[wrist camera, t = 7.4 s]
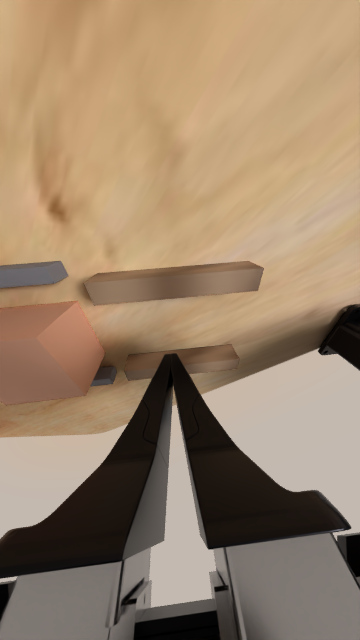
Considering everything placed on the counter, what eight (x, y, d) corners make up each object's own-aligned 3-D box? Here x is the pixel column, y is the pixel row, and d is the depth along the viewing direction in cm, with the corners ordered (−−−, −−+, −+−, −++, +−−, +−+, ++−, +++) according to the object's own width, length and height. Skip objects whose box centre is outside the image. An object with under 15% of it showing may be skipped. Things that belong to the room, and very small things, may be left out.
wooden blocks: (248, 261, 10) (264, 268, 9) (229, 353, 16) (236, 368, 14) (97, 273, 10) (83, 283, 8) (132, 364, 16) (128, 380, 14)
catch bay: (60, 261, 9) (44, 266, 8) (116, 371, 16) (112, 383, 15) (-83, 272, 9) (-122, 279, 8) (35, 380, 16) (25, 393, 15)
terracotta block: (78, 299, 11) (35, 337, 8) (105, 352, 15) (85, 395, 11) (0, 307, 11) (-83, 349, 7) (46, 358, 14) (5, 405, 11)
